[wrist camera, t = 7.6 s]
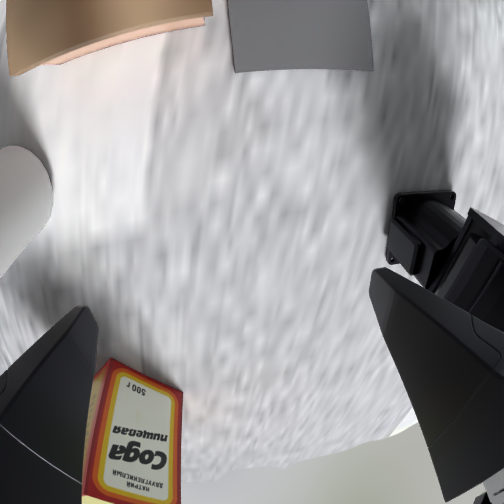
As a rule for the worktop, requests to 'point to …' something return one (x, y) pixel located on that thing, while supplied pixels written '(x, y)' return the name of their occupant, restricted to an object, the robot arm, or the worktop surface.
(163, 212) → the worktop surface
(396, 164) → the worktop surface
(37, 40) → the lid
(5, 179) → the can
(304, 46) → the mat
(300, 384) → the worktop surface
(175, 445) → the baking soda box
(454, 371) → the robot arm
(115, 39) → the dish
